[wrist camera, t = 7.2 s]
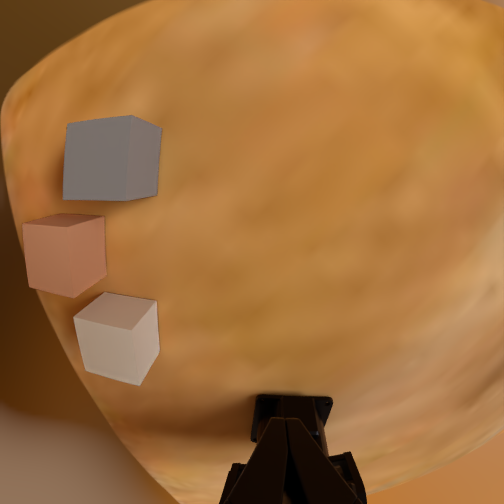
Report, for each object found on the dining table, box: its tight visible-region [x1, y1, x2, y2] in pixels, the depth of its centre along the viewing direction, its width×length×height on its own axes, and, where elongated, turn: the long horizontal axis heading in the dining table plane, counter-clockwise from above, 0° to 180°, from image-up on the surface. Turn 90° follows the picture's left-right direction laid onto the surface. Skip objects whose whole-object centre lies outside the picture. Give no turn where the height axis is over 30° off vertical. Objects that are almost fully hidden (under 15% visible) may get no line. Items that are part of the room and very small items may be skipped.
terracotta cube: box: [22, 214, 107, 298], centre depth 17 cm, size 4×4×4 cm
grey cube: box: [63, 115, 162, 201], centre depth 15 cm, size 4×4×4 cm
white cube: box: [73, 292, 160, 386], centre depth 18 cm, size 4×4×4 cm
